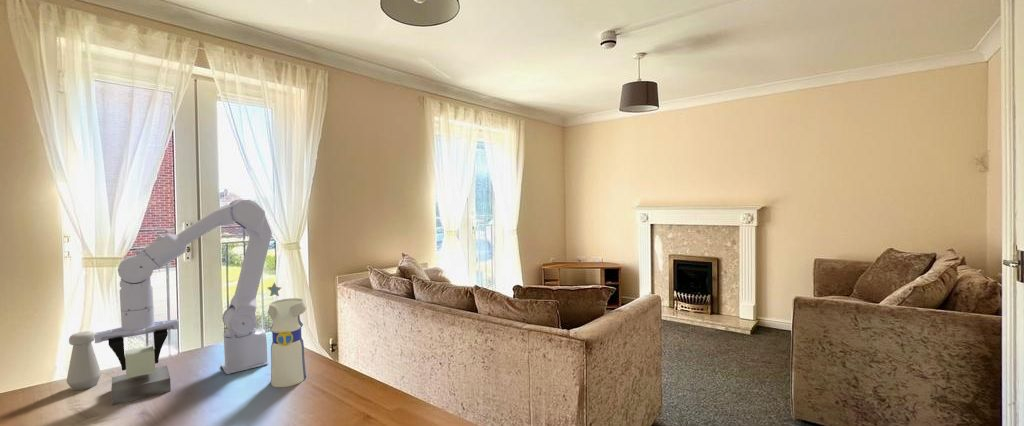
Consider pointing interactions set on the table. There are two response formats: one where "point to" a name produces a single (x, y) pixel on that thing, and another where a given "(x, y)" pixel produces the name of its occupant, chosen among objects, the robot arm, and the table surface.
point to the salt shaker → (83, 362)
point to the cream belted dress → (286, 341)
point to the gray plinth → (140, 385)
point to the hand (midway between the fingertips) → (140, 365)
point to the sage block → (140, 361)
